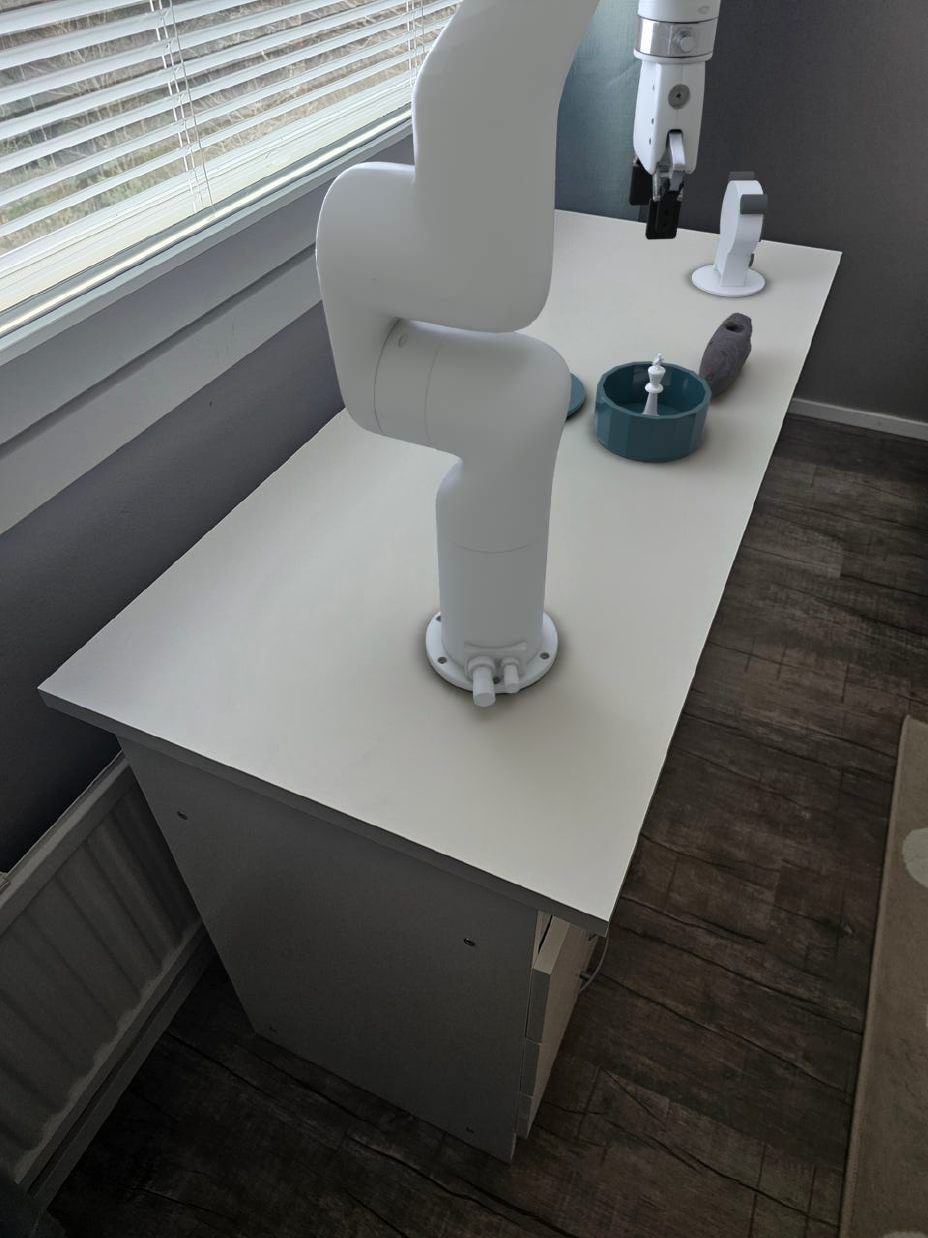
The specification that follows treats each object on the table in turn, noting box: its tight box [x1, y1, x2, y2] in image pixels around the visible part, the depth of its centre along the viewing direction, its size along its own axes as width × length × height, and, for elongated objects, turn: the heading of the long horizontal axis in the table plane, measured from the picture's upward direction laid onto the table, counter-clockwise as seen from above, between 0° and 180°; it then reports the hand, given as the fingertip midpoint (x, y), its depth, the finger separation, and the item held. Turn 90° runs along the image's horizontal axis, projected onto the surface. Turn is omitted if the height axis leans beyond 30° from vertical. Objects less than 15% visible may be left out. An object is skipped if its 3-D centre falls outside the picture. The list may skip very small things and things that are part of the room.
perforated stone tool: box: [698, 312, 753, 398], centre depth 117 cm, size 15×5×7 cm, turn 150°
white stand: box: [691, 171, 769, 298], centre depth 136 cm, size 12×11×15 cm
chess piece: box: [641, 352, 665, 416], centre depth 107 cm, size 5×5×10 cm
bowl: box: [593, 360, 712, 463], centre depth 109 cm, size 13×13×6 cm
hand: (651, 220), depth 97 cm, fingers open, 9 cm apart
